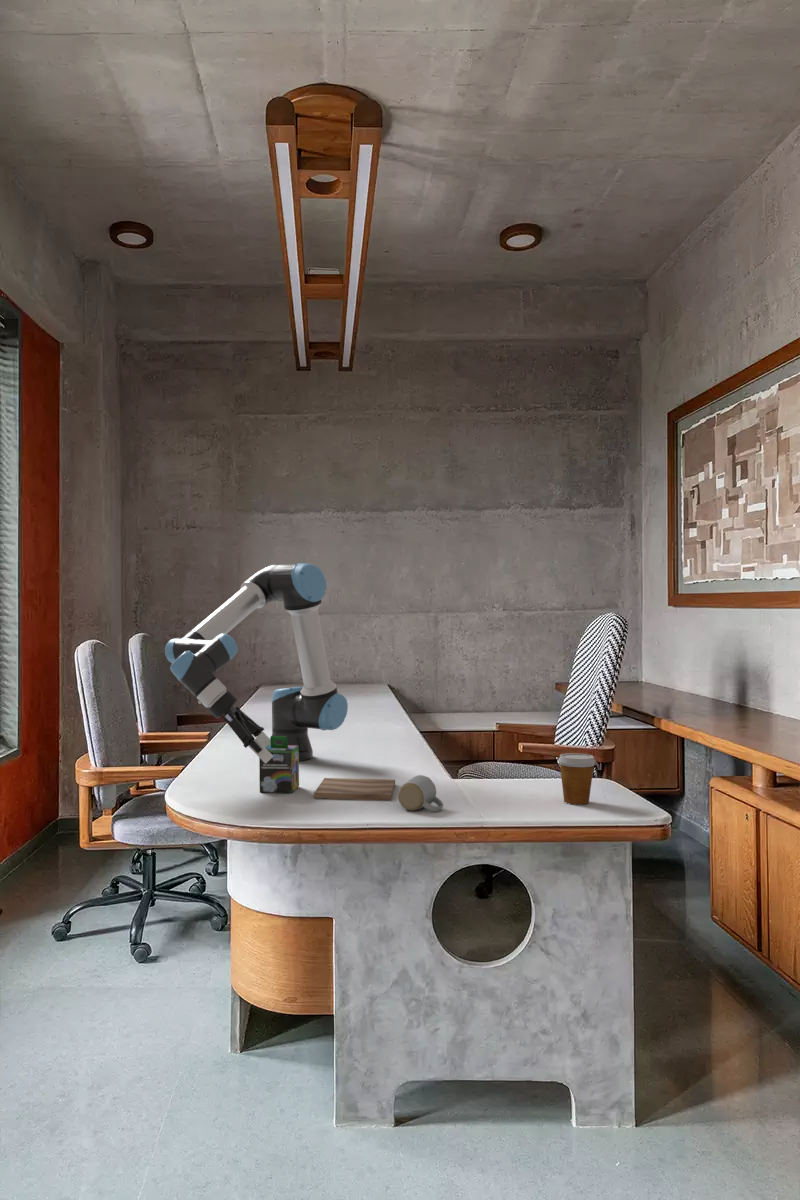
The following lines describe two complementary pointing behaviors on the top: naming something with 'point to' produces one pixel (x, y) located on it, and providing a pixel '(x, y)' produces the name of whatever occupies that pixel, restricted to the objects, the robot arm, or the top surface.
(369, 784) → the walnut board
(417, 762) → the top surface
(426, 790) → the ceramic mug
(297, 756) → the chalk box
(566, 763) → the disposable coffee cup
